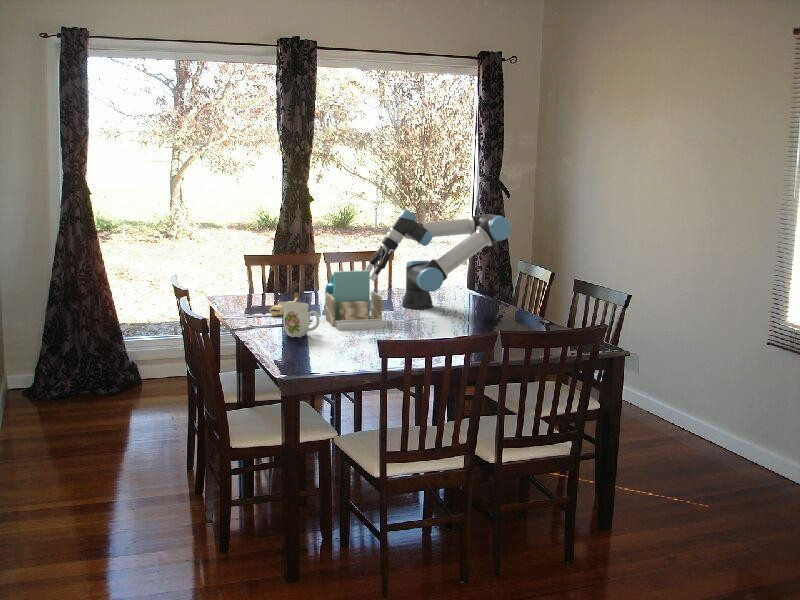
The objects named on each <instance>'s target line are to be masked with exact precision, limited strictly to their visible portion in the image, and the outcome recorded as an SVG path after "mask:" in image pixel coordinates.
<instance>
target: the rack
mask: <svg viewBox="0 0 800 600" xmlns="http://www.w3.org/2000/svg"><path fill="white" fill-rule="evenodd" d="M368 319H381V321H383V297H382V295H379V294H378V293H376V292H375V291H374V290H373V291H372V290H371V291H370V314H369V317H368ZM325 321H326V322H328V323H329V324H330V325H331V326H332V327H335V321H339V319H335V299H334V298H333V297H332V296H331V295H330V294H329V293H326V306H325Z"/></svg>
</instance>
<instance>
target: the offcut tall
mask: <svg viewBox="0 0 800 600" xmlns="http://www.w3.org/2000/svg"><path fill="white" fill-rule="evenodd" d="M355 307H367V308H368V315H370V308H369V302H368V301H348V302H339V320H344V308H355Z"/></svg>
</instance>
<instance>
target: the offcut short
mask: <svg viewBox="0 0 800 600" xmlns="http://www.w3.org/2000/svg"><path fill="white" fill-rule="evenodd" d="M361 319H368V308H367V307H355V308H344V320H361Z"/></svg>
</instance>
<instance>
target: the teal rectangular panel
mask: <svg viewBox="0 0 800 600" xmlns="http://www.w3.org/2000/svg"><path fill="white" fill-rule="evenodd" d="M333 274H334V299H335V319H339V302H348V301H368V302H369V309H371V291H370V287H371V286H370V285H371V283H370V280H371V279H370V276H371V272H370V271H364V270H348V271H347V270H346V271H345V270H344V271H339V270H338V271H333ZM369 315H370V314H369ZM369 315H368V317H369Z"/></svg>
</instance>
